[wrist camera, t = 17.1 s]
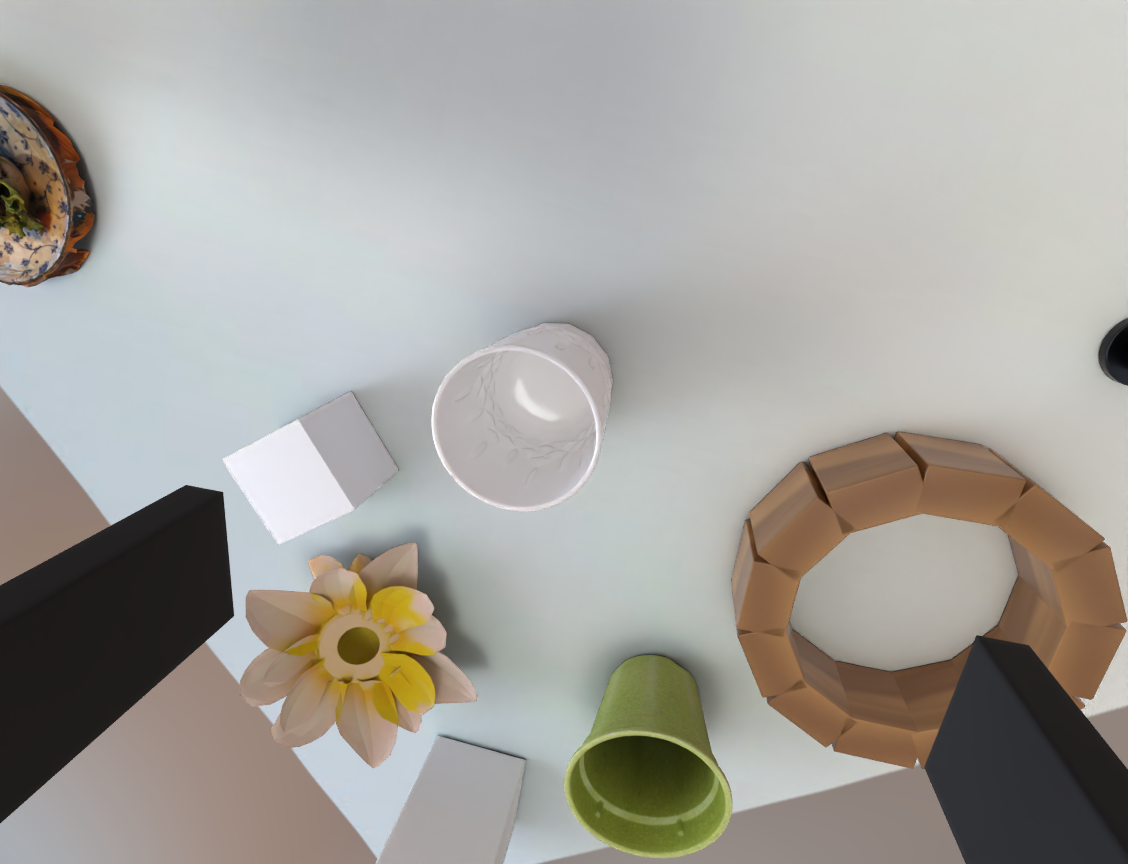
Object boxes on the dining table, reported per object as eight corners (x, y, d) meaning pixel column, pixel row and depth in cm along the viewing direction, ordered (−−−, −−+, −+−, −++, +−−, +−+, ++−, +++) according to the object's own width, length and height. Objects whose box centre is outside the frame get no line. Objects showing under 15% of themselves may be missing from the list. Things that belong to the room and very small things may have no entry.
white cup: (646, 350, 36) (633, 397, 27) (586, 462, 39) (555, 540, 30) (524, 288, 36) (468, 313, 27) (473, 404, 39) (407, 463, 30)
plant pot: (733, 741, 44) (744, 860, 36) (601, 747, 46) (583, 860, 38) (711, 626, 41) (717, 727, 33) (572, 639, 43) (546, 735, 35)
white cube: (351, 390, 40) (297, 418, 35) (399, 470, 42) (355, 509, 36) (282, 427, 42) (220, 459, 37) (330, 502, 43) (278, 545, 38)
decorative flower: (504, 723, 45) (416, 843, 36) (384, 707, 50) (282, 809, 41) (449, 527, 41) (339, 606, 33) (327, 532, 47) (205, 602, 38)
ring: (769, 411, 36) (782, 441, 31) (1119, 465, 34) (1189, 505, 29) (710, 668, 42) (713, 725, 38) (1001, 729, 40) (1043, 798, 35)
